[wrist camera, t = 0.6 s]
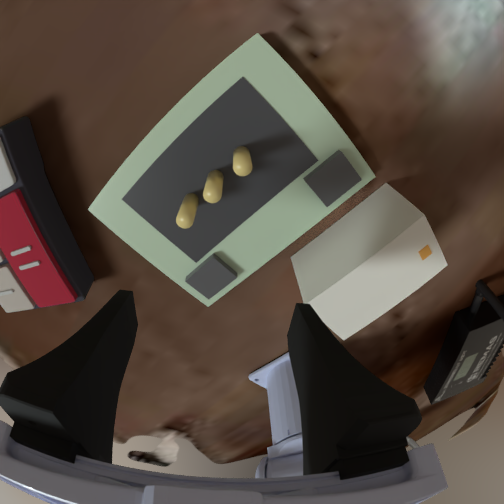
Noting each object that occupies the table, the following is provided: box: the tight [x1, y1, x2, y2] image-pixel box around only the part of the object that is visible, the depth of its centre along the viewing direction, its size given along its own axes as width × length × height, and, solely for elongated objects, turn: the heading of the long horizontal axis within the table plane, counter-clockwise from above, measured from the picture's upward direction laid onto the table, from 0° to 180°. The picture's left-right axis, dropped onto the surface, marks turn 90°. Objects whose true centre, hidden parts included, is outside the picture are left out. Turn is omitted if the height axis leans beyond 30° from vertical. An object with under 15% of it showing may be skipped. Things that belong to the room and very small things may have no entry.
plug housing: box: [291, 183, 447, 340], centre depth 20 cm, size 5×9×6 cm, turn 132°
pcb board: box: [88, 33, 376, 307], centre depth 18 cm, size 12×16×4 cm
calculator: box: [0, 116, 94, 313], centre depth 19 cm, size 11×4×15 cm
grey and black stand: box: [424, 280, 504, 405], centre depth 24 cm, size 20×14×17 cm
